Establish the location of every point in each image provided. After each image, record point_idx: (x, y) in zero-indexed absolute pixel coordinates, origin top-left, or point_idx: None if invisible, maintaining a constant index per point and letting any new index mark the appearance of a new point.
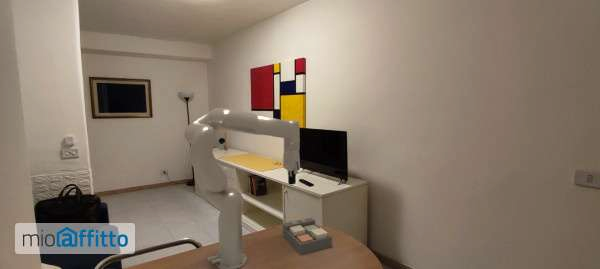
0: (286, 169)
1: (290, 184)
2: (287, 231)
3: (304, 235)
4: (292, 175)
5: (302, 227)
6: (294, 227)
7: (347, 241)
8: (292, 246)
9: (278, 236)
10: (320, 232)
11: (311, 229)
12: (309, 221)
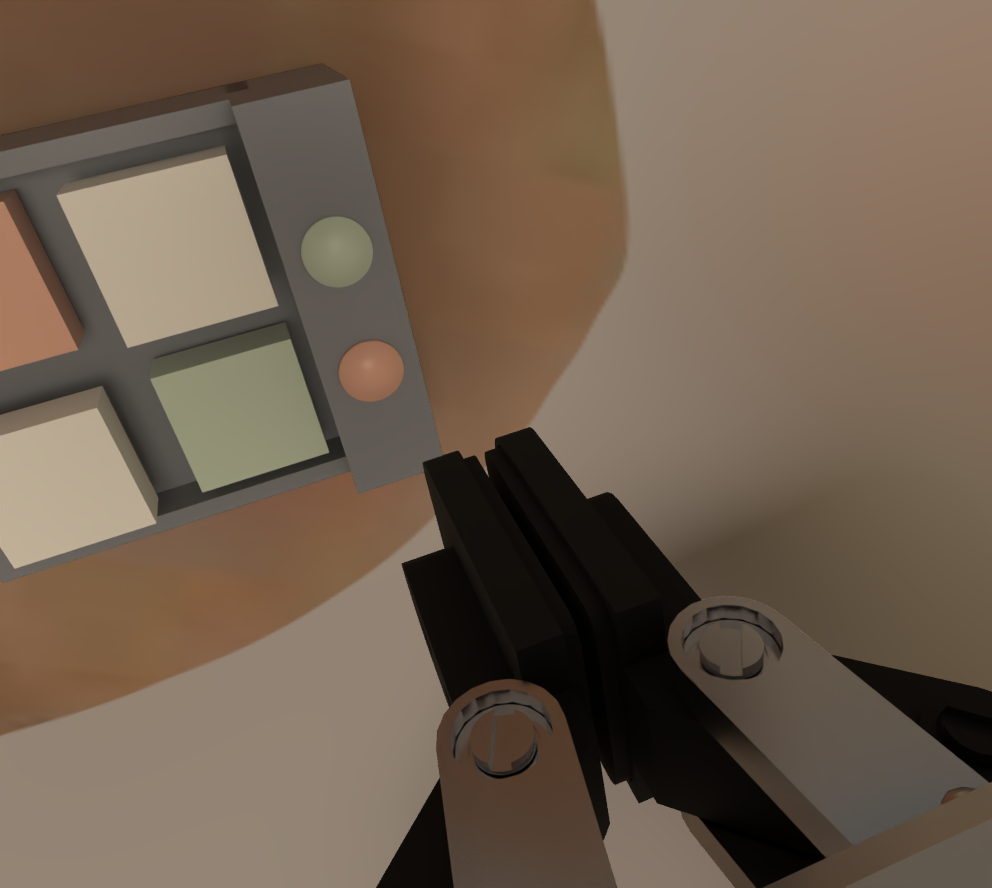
0: (904, 831)
1: (426, 479)
2: (198, 109)
3: (26, 308)
4: (420, 824)
5: (197, 323)
6: (214, 221)
7: (138, 647)
8: (47, 125)
9: (360, 8)
10: (24, 501)
11: (199, 413)
12: (340, 429)
